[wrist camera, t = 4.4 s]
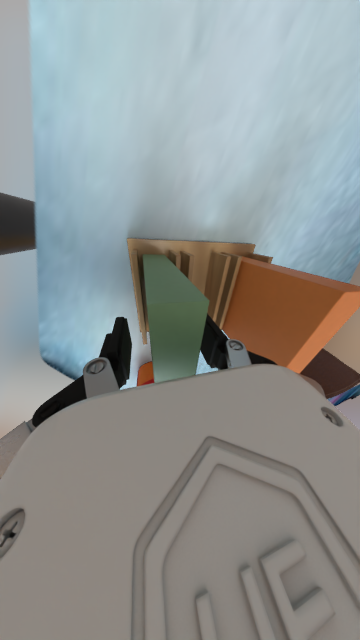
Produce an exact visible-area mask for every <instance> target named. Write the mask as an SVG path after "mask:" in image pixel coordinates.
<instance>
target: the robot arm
mask: <svg viewBox="0 0 360 640" xmlns="http://www.w3.org/2000/svg"><path fill="white" fill-rule="evenodd" d="M131 349H132V342H131V337H130V332H129V327H128V322H127V318H124V317H116V320H115V324H114V328H113V331H112V333H110V334H107V335H106V337H105V340H104V343H103V346H102V349H101V353H100V356H99V358H95V359H93V360H91V361H90V362H88V363H87V364H86V365H85V367H84V369H83V375H82V376H81V377H79V378H78V379H77V380H75V381H74V382H72V383H71V384H70V385H68V386H67V387H66V388H64V389H63V390H61V391H60V392H59V393H57V394H56V395H54V396H53V397H52V398H50V399H49V400H47V401H46V402H45V403H43V404H42V405H41V406H40V407H39V408H38V409H37V410H36V412H35V414H34V415H33V418H32V419H31V420H29V421H28V422H25V421H24V422H23V423H22V424H20V425H19V426H17V427H16V428H15V429H13V430H12V431H11V432H9V433H8V434H7V435H5V436H4V437H3V438H1V439H0V640H360V430H359V429H358V428H357V427H356V426H355V425H354V424H353V423H352V422H351V421H350V420H348V418H346V417H345V416H344V415H343V414H342V413H341V412H340V411H339V410H338V409H337V408H336V407H335V406H334V405H333V404H332V403H330V402H329V401H328V400H327V399H326V397H325V394H324V391H323V389H322V387H321V386H320V385H319V383H317V382H316V381H315V380H313V379H311V378H309V377H306V376H304V375H301V374H299V373H296V372H294V371H292V370H290V369H288V368H286V367H283V366H279V365H277V364H276V363H275V362H274V361H272V360H270V359H268V358H265V357H263V356H260V355H258V354H255V353H252V352H250V351H247V350H246V347H245V345H244V344H243V343H242V342H241V341H239V340H236V339H228V338H227V337H226V336H225V334H224V333H223V332H222V331H221V329H220V328H219V327H218V326H217V325H216V323H215V322H214V321H213V320H212V318H211V317H210V316H209V315H208V313H207V316H206V321H205V327H204V332H203V337H202V342H201V348H200V350H201V352H202V354H203V356H204V358H205V360H206V362H207V364H208V365H210V367H211V368H215V367H216V368H218V371H213V372H208V373H202V374H197V375H192V376H187V377H182V378H177V379H172V380H167V381H162V382H157V383H152V384H147V385H142V386H137V387H132V388H127V389H123V390H120V388H121V387H122V386H123V385H125V384H126V380H128V379H129V375H130V362H131Z"/></svg>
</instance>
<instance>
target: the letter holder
mask: <svg viewBox="0 0 360 640" xmlns="http://www.w3.org/2000/svg"><path fill="white" fill-rule="evenodd" d="M300 374H301V375H304V376H306V377H309V378H311V379H313V380H315V381H316V382H317V383H319V385H320V386H321V387H322V389H323V391H324V394H325V397H326V399H328V398H332V397H334V396H337V395H339V394H341V393H343V392H345V391H347V390H349V389H351V388H352V387H354V386H355V385H357V384H358V383H359V382H360V374H359V373H357V372H356V371H355V370H353V369H352V368H350V367H349V366H347V365H346V364H344V363H343V362H341V361H340V360H339V359H337V358H336V357H335V356H333V355H332V354H330V353H329V352H328V351H326V350H325V349H323V348H322V349H321V350H320V351H319V352H318V353H317V355H316V356H315V357H314V358H313V359H312V360H311V361H310V362H309V363H308V365H307V366H306V367H305V368H304V369H303V370H302V371H301V372H300Z"/></svg>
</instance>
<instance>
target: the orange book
mask: <svg viewBox="0 0 360 640" xmlns="http://www.w3.org/2000/svg"><path fill="white" fill-rule="evenodd" d="M359 307H360V286H356V285H352V284H348V283H344V282H340V281H336V280H332V279H329V278H325V277H321V276H317V275H313V274H309V273H305V272H301V271H297V270H294V269H290V268H286V267H282V266H278V265H274V264H270V263H266V262H262V261H258V260H255V259H251V258H247V257H243V256H242V260H241V264H240V267H239V271H238V274H237V278H236V281H235V285H234V288H233V292H232V295H231V299H230V302H229V306H228V309H227V313H226V316H225V320H224V323H223V327H222V330H223V331H224V332H225V333H226V335H227V336H228V337H229V338H230V339H236V340H239V341H241V342H242V343H243V344H244V345H245V347H246V350H247V351H250V352H252V353H255V354H258V355H260V356H263V357H265V358H268V359H270V360H272V361H274V362H275V363H276V364H277V365H279V366H283V367H286V368H288V369H290V370H292V371H294V372H296V373H299V374H300V372H301V371H302V370H303V369H304V368H305V367H306V366H307V365H308V363H309V362H310V361H311V360H312V359H313V358H314V357H315V356H316V355H317V353H318V352H319V351H320V350H321V349H322V348H323V347H324V346H325V345H326V343H327V342H328V341H329V340H330V339H331V338H332V337H333V336H334V335H335V333H336V332H337V331H338V330H339V329H340V328H341V327H342V326H343V324H344V323H345V322H346V321H347V320H348V319H349V318H350V317H351V316H352V315H353V313H354V312H355V311H356V310H357V309H358V308H359Z"/></svg>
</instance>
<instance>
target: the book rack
mask: <svg viewBox="0 0 360 640" xmlns="http://www.w3.org/2000/svg"><path fill="white" fill-rule="evenodd" d="M127 243H128V250H129V257H130V264H131V271H132V278H133V285H134V292H135V299H136V305H137V312H138V319H139V326H140V332H142V338H143V344H144V345H145V344H147V332H149V323H148V313H147V302H146V290H145V278H144V265H143V254H154V255H165V256H166V257H167V258H168V259H169V260H170V261H171V262H172V263H173V264H174V265H175V266H176V267H177V268H178V269H179V270H180V271H181V272H182V273H183V274H184V275H185V276H186V277H187V278H188V279H189V280H190V281H191V282H192V283H193V284H194V285H195V286H196V287H197V288H198V289H199V291H200V292H201V293H202V294H203V295H204V296H205V297H206V298H207V299H208V300H209V306H208V311H207V313H208V315H209V316H210V317H211V318H212V320H213V321H214V322H215V323H216V325H217V326H218V327H219V328H220V329H221V330H222V327H223V323H224V320H225V316H226V313H227V309H228V306H229V302H230V299H231V295H232V292H233V288H234V285H235V281H236V278H237V274H238V271H239V267H240V264H241V260H242V256H243V257H247V258H251V259H255V260H258V261H262V262H266V263H270V264H271V261H272V259H273V257H269V256H264V255H259V254H254V253H253V251H254V248H255V244H242V243H221V242H200V241H179V240H158V239H137V238H127Z"/></svg>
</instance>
